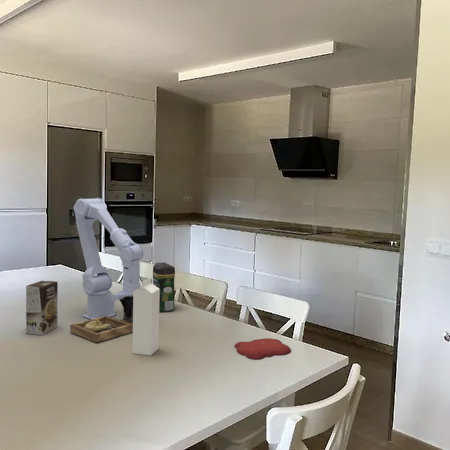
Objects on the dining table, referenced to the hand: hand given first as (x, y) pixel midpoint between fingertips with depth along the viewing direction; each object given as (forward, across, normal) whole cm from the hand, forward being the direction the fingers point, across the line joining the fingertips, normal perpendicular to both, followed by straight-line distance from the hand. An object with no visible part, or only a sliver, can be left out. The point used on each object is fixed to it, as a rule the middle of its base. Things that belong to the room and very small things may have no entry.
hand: (130, 316), depth 166 cm
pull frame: (+3, -10, 0) cm, 10 cm away
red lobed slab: (+4, +13, -48) cm, 50 cm away
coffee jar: (+3, +22, +6) cm, 23 cm away
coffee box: (+3, -25, +16) cm, 29 cm away
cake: (+3, -14, 0) cm, 14 cm away
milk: (+3, -13, -23) cm, 27 cm away
